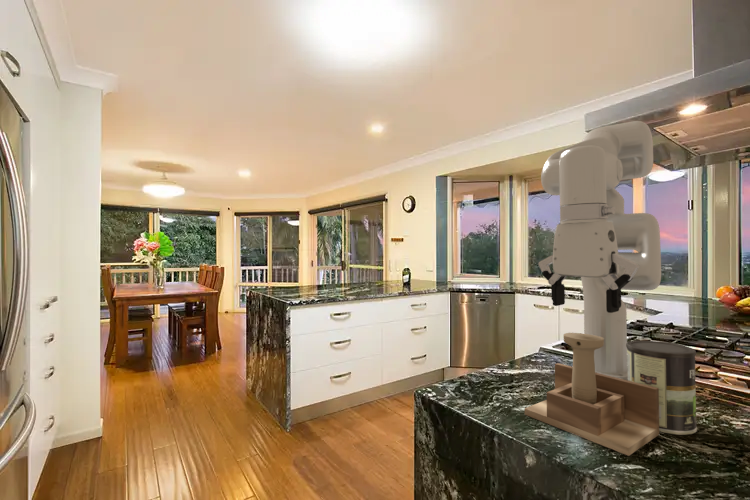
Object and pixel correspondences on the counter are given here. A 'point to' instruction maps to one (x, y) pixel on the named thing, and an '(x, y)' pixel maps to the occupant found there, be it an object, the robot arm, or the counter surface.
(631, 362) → the coffee can
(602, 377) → the wooden box holder
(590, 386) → the handle
